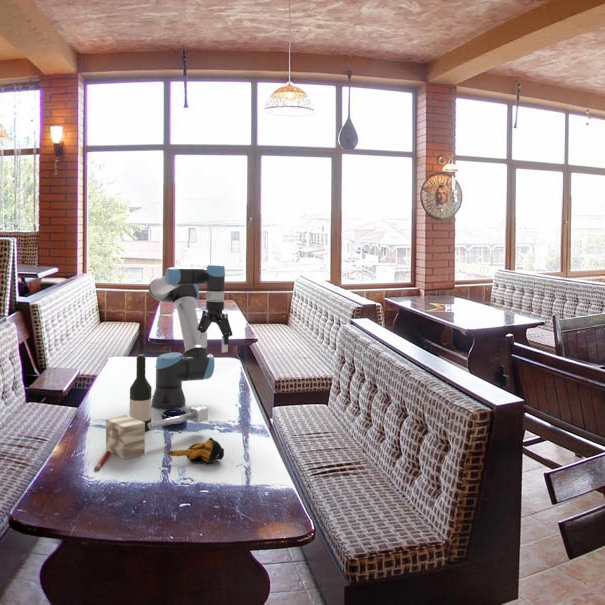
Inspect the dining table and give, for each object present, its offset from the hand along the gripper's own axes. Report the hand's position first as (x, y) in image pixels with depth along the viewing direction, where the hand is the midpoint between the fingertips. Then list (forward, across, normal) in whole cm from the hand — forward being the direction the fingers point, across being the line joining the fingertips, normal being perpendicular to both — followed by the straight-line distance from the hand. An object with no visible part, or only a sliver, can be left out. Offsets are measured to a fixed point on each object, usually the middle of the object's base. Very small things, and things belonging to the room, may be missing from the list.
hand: (214, 349), depth 267 cm
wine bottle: (+29, -4, -34) cm, 45 cm away
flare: (+29, +18, -64) cm, 72 cm away
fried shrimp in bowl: (+29, +39, -40) cm, 63 cm away
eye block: (+29, +15, -53) cm, 62 cm away
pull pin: (+24, +15, -30) cm, 41 cm away
